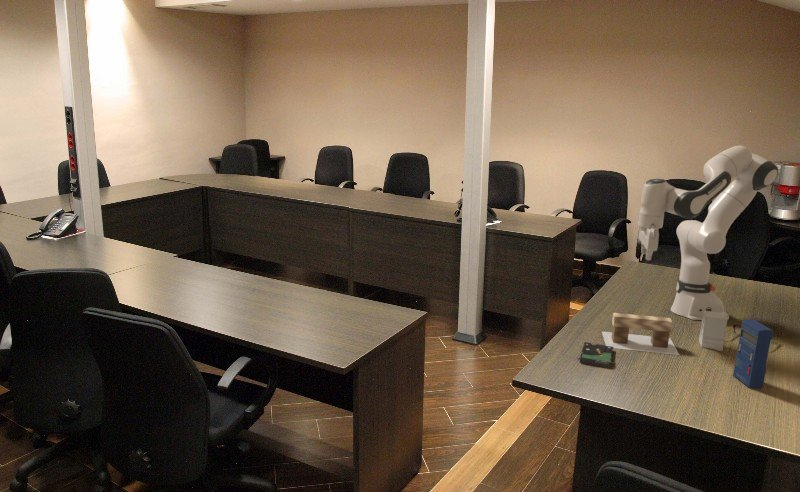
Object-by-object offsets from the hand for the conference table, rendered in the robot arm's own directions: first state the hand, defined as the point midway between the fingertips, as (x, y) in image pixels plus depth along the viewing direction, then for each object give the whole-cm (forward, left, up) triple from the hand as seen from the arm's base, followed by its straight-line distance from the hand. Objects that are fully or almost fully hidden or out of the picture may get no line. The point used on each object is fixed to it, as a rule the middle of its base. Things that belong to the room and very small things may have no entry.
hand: (645, 256), depth 244 cm
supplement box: (-24, +13, -29) cm, 40 cm away
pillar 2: (-5, +18, -28) cm, 34 cm away
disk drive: (+19, +35, -30) cm, 49 cm away
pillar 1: (+9, +18, -28) cm, 35 cm away
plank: (+2, +18, -22) cm, 29 cm away
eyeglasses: (-39, +4, -30) cm, 50 cm away
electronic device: (-28, +42, -29) cm, 58 cm away
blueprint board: (+2, +18, -29) cm, 34 cm away
